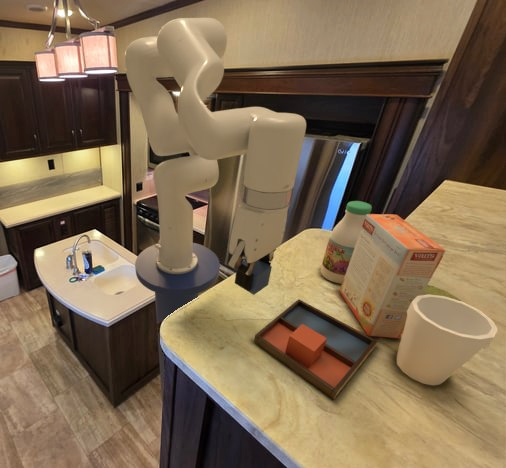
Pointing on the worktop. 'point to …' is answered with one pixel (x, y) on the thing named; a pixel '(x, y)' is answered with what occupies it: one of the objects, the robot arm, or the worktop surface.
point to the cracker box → (388, 273)
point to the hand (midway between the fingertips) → (251, 280)
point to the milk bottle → (344, 241)
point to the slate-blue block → (259, 276)
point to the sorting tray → (334, 353)
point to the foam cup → (441, 337)
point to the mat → (438, 292)
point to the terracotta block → (305, 345)
